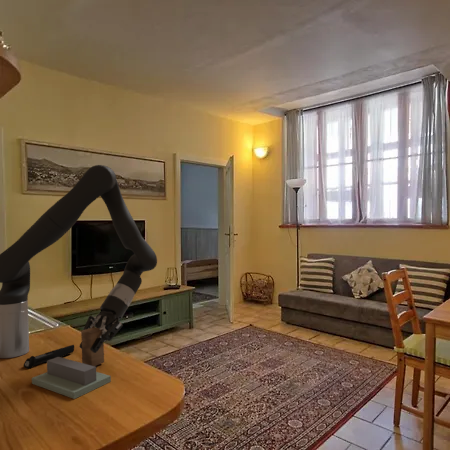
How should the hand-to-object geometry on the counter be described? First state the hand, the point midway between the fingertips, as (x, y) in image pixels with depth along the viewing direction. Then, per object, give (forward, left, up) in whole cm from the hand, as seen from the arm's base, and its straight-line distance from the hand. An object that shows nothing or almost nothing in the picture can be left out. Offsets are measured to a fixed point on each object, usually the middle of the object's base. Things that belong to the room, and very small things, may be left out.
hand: (87, 349), depth 107 cm
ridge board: (+5, -9, -5) cm, 12 cm away
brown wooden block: (0, +2, -5) cm, 5 cm away
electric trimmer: (-16, -2, -6) cm, 17 cm away
